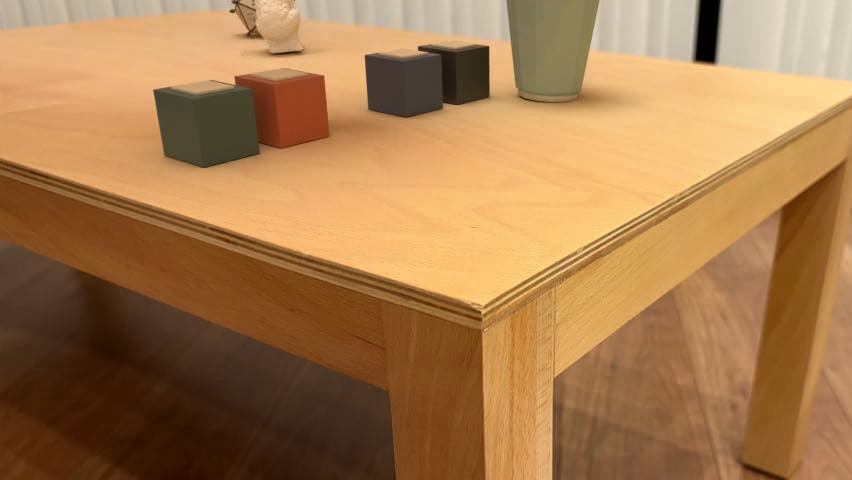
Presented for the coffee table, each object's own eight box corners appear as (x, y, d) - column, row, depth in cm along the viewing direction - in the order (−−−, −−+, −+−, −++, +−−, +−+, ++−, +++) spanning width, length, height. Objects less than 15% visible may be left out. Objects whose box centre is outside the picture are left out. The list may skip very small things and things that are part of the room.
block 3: (406, 117, 78) (403, 59, 76) (367, 109, 81) (364, 52, 78) (443, 108, 82) (441, 52, 79) (405, 100, 84) (402, 46, 82)
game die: (275, 60, 124) (303, -1, 125) (281, 47, 116) (311, -19, 117) (214, 29, 121) (243, -34, 122) (216, 13, 113) (247, -54, 114)
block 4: (457, 104, 83) (456, 49, 81) (419, 97, 86) (417, 44, 84) (489, 96, 87) (489, 43, 85) (452, 90, 89) (451, 38, 87)
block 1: (203, 167, 63) (192, 96, 60) (164, 155, 65) (152, 86, 63) (260, 153, 66) (251, 85, 64) (220, 142, 69) (211, 77, 67)
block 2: (281, 148, 68) (273, 81, 66) (241, 137, 70) (233, 73, 68) (329, 136, 71) (324, 72, 69) (290, 126, 74) (284, 65, 72)
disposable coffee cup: (522, 82, 94) (524, -67, 88) (616, 91, 91) (626, -63, 84) (482, 101, 85) (481, -64, 79) (585, 112, 82) (592, -59, 75)
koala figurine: (303, 45, 114) (294, -53, 108) (327, 52, 109) (319, -50, 104) (241, 51, 109) (229, -52, 103) (264, 58, 104) (251, -48, 99)
